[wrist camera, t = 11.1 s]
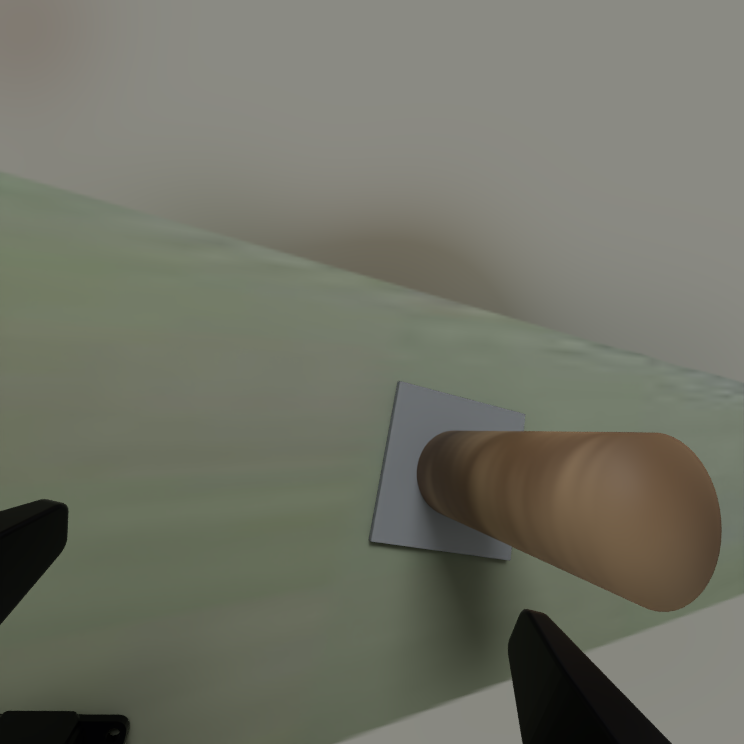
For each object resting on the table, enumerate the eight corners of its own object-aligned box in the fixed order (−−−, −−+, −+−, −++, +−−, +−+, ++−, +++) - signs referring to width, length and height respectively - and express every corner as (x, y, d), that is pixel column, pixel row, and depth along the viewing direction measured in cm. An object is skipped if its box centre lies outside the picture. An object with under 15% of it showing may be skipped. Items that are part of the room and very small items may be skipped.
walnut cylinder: (459, 535, 22) (680, 650, 11) (400, 477, 21) (566, 534, 10) (505, 468, 23) (741, 505, 12) (450, 413, 23) (645, 398, 11)
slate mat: (506, 558, 23) (510, 560, 23) (368, 539, 21) (371, 541, 20) (521, 414, 25) (525, 414, 25) (397, 382, 23) (400, 381, 22)
